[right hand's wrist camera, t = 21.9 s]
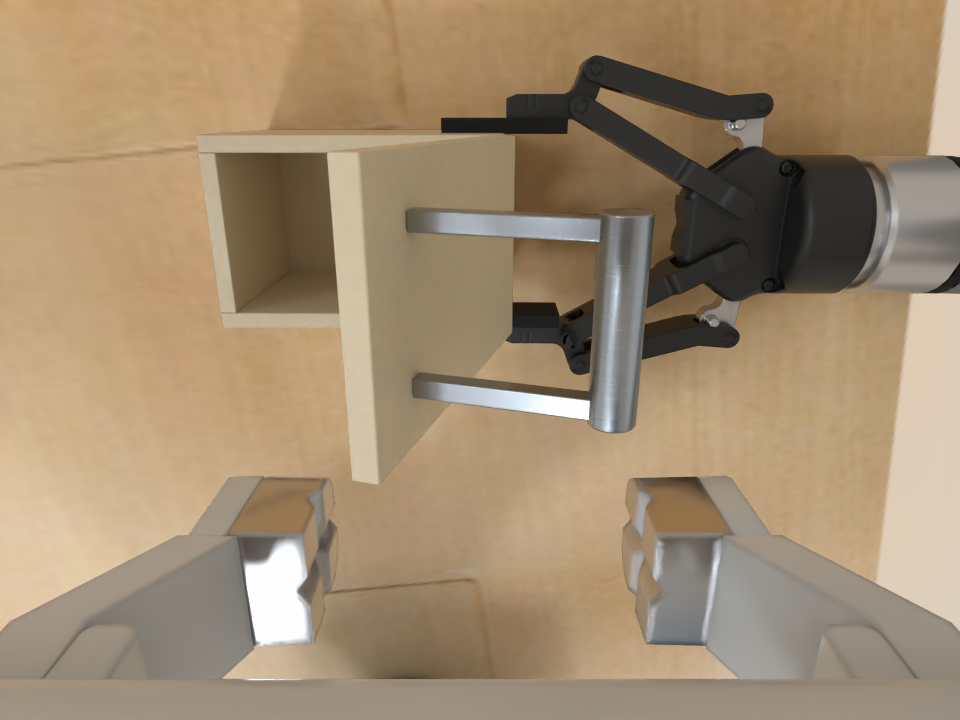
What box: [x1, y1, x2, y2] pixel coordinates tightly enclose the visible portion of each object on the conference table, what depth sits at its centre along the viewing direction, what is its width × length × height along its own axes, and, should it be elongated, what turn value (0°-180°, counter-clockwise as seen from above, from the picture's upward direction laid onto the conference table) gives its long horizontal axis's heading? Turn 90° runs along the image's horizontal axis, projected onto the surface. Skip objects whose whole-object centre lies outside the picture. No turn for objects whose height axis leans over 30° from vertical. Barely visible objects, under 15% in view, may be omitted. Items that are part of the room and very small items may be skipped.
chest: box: [196, 130, 505, 328], centre depth 39 cm, size 15×10×11 cm, turn 90°
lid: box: [327, 135, 654, 485], centre depth 25 cm, size 16×10×8 cm
